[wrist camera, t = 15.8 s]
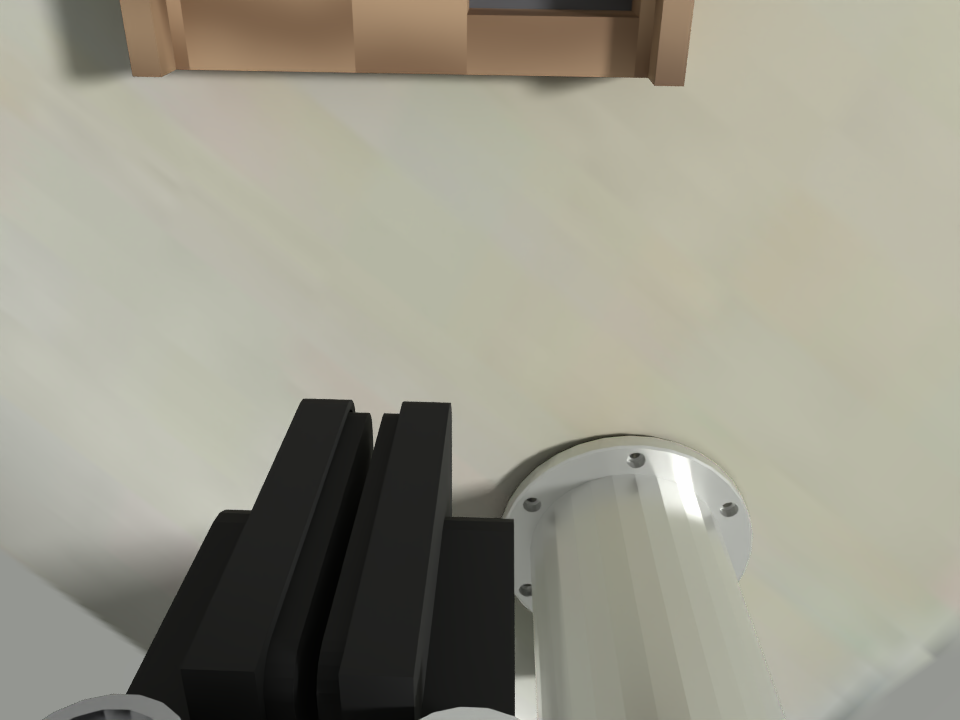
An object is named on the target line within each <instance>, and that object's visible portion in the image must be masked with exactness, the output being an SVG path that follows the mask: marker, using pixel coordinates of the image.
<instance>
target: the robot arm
mask: <svg viewBox="0 0 960 720" xmlns="http://www.w3.org/2000/svg"><path fill="white" fill-rule="evenodd" d="M752 539H753V532H752V526H751V520H750V515H749V512H748V510H747V507H746V505H745V502H744V499H743V497H742V495H741V493H740V492H739V490H738V488H737V487H736V485H735V483H734V482H733V480H732V479H731V478H730V477H729V476H728V475H727V473H726V472H725V471H724V470H723V469H722V468H721V467H720V466H719V465H718V464H716V463H715V462H713V461H712V460H710V459H709V458H708V457H706V456H705V455H703V454H702V453H700V452H698V451H696V450H694V449H691V448H689V447H687V446H684V445H682V444H679V443H677V442H672V441H668V440H664V439H659V438H655V437H642V436H620V437H610V438H602V439H598V440H594V441H590V442H586V443H582V444H579V445H577V446H574V447H572V448H570V449H567V450H565V451H563V452H561V453H558V454H556V455H555V456H553V457H552V458H550V459H549V460H547V461H546V462H544V463H543V464H541V465H540V466H538V467H537V468H536V469H535V470H534V471H533V472H532V473H531V474H529V475H528V476H527V477H526V478H525V479H524V480H523V481H522V482H521V483H520V485H519V486H518V488H517V489H516V491H515V492H514V494H513V495H512V497H511V498H510V499H509V502H508V504H507V507H506V509H505V512H504V514H503V517H502V519H501V518H470V517H452V411H451V403H440V402H405V401H404V402H403V403H402V406H401V410H400V414H388V413H385V414H383V417H382V421H381V424H380V428H379V432H378V436H377V439H376V443H375V447H374V450H373V430H372V419H371V415H370V413H355V407H354V403H353V401H352V400H336V399H303V400H302V401H301V403H300V405H299V407H298V409H297V411H296V413H295V416H294V418H293V420H292V422H291V424H290V427H289V429H288V431H287V433H286V436H285V438H284V440H283V442H282V444H281V447H280V449H279V451H278V453H277V455H276V458H275V460H274V462H273V464H272V467H271V469H270V471H269V473H268V475H267V478H266V480H265V482H264V484H263V486H262V489H261V491H260V493H259V495H258V497H257V500H256V502H255V504H254V506H253V509H252V510H224V511H222V512H220V513H219V514H218V516H217V517H216V519H215V520H214V522H213V524H212V526H211V528H210V530H209V532H208V534H207V536H206V538H205V540H204V542H203V543H202V545H201V547H200V549H199V551H198V553H197V555H196V557H195V559H194V561H193V563H192V565H191V567H190V569H189V571H188V573H187V575H186V577H185V579H184V581H183V583H182V585H181V587H180V589H179V591H178V593H177V595H176V597H175V599H174V601H173V603H172V604H171V606H170V608H169V610H168V612H167V614H166V616H165V618H164V620H163V622H162V624H161V626H160V628H159V630H158V632H157V634H156V636H155V638H154V640H153V642H152V644H151V646H150V648H149V650H148V652H147V654H146V656H145V658H144V660H143V662H142V664H141V666H140V668H139V670H138V671H137V673H136V675H135V677H134V679H133V681H132V684H131V685H130V687H129V689H128V691H127V693H126V694H110V695H106V696H101V697H95V698H90V699H86V700H82V701H79V702H77V703H75V704H72V705H70V706H67V707H65V708H63V709H61V710H58V711H56V712H53V713H52V714H50V715H49V716H47V717H46V718H44V719H43V720H519V719H518V718H516V717H515V635H514V594H515V596H516V597H517V598H518V599H519V601H520V602H521V603H522V604H523V605H524V606H525V607H526V608H527V609H528V610H529V611H531V612H532V613H533V631H534V655H535V678H536V702H537V720H786V718H785V715H784V712H783V710H782V707H781V704H780V701H779V698H778V695H777V692H776V689H775V686H774V684H773V681H772V678H771V675H770V672H769V669H768V666H767V663H766V660H765V658H764V655H763V652H762V649H761V646H760V643H759V640H758V637H757V635H756V632H755V629H754V626H753V623H752V620H751V617H750V614H749V611H748V609H747V606H746V603H745V600H744V597H743V594H742V591H741V588H740V585H739V583H738V582H739V581H740V579H741V577H742V576H743V574H744V572H745V570H746V567H747V564H748V561H749V558H750V555H751V550H752Z"/></svg>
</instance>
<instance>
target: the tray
mask: <svg viewBox="0 0 960 720" xmlns="http://www.w3.org/2000/svg"><path fill="white" fill-rule="evenodd" d="M120 6H121V12H122V17H123V23H124V29H125V35H126V40H127V46H128V52H129V57H130V63H131V69H132V75H133V76H137V77H162V76H164V75H166V74H168V73H170V72H172V71H174V70H176V69H178V70H235V71H292V72H349V73H405V74H462V75H519V76H576V77H632V78H649V80H650V81H651V82H652V83H653V84H654V86H684V81H685V73H686V65H687V57H688V49H689V40H690V32H691V24H692V16H693V8H694V0H120Z"/></svg>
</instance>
